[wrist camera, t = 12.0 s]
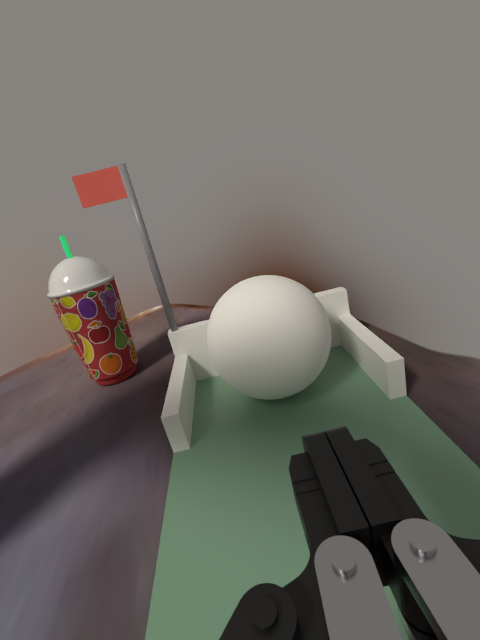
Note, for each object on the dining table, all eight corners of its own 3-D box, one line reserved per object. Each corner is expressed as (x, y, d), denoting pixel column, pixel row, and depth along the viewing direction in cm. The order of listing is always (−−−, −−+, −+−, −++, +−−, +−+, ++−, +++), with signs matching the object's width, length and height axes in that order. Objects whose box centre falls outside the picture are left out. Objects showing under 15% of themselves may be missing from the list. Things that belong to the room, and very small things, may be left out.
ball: (184, 268, 31) (211, 319, 42) (204, 401, 26) (229, 419, 37) (315, 236, 30) (307, 296, 41) (361, 365, 26) (338, 394, 37)
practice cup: (43, 732, 15) (-489, 80, 7) (152, 388, 43) (75, 177, 35) (602, 596, 15) (763, -235, 7) (349, 339, 43) (318, 116, 34)
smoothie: (112, 362, 54) (61, 236, 48) (157, 359, 51) (109, 224, 45) (74, 392, 47) (8, 249, 40) (123, 391, 44) (61, 235, 37)
